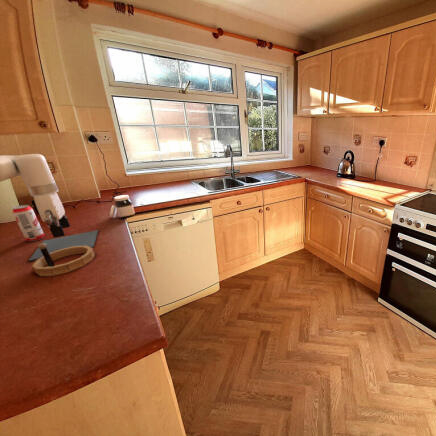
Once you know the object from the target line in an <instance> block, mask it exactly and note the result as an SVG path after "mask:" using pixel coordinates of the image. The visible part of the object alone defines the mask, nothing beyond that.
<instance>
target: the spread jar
mask: <svg viewBox="0 0 436 436" xmlns="http://www.w3.org/2000/svg"><path fill="white" fill-rule="evenodd" d="M113 200H114V205H111V207H110V210H109V218H111V219H114V218H115V217H116V215H118V218H119V219H121V220H123V219H124V220H125V219H130V218H132V217H135V215H136V212H135V208H134V205H133V203H132V201H131V199H130V196H129V194H121V195H120V194H119V195H116V196H114V197H113Z"/></svg>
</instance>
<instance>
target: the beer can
mask: <svg viewBox="0 0 436 436" xmlns="http://www.w3.org/2000/svg"><path fill="white" fill-rule="evenodd" d="M12 215H13V216H14V218H15V221H16V223H17V225H18V227H19V230H20V231H21V233H22V236H23V237H24V239H25V241H26V242H29V243H30V242H31V243H32V242H37V241H40V240H43V239H44V238H45V233H44V230H43V228H42V226H41V224H40V222H39V220H38V218H37V216H36V214H35V211H34V209H33V208H32V207H31V206H30V204H22V205H21V204H20V205H17V206H14V207H12Z"/></svg>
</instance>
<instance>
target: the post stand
mask: <svg viewBox="0 0 436 436" xmlns="http://www.w3.org/2000/svg"><path fill="white" fill-rule="evenodd" d="M46 247H47V245H46V244H45V243H42V242H40V243H38V245H37V249H38V248H39V249H40V250H41V252H42V254H43V256H44V258H45V260H46V263H47V265H46V266H47V267H53V266H56V265H55V262H54V261H52V258H51V256H50V254H49V252H48V250H47V248H46Z"/></svg>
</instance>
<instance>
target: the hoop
mask: <svg viewBox="0 0 436 436" xmlns="http://www.w3.org/2000/svg"><path fill="white" fill-rule="evenodd" d="M49 254H50V256H51V258H52V261H53V262H54V261H57V260H59V259H62V258H64V257H68V256H73V255H78V254H79V255H80V254H83V255H81V256H80V257H79V258H75V259H73V260H71V261H68V262H65V263H61V264H57V265H55V266H53V267H48V265H47V263H46V260H45V258H44V256H43V257H41V258H39V259H37V260H34V261H33V264H32V265H31V267H32V269H33V271H34V273H35V274H36V275H38V276H39V277H55V276H58V275H62V274H65V273H70V272H72V271H75V270H77V269H79V268H82V267H84V266H87V264H89V263H90V262H91V261H93V260H94V257H95V256H96V255H95V252H94V249H93V248H91V247H89V246H73V247H68V248H64V249H60V250H57V251H54V252H52V253H49Z"/></svg>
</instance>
